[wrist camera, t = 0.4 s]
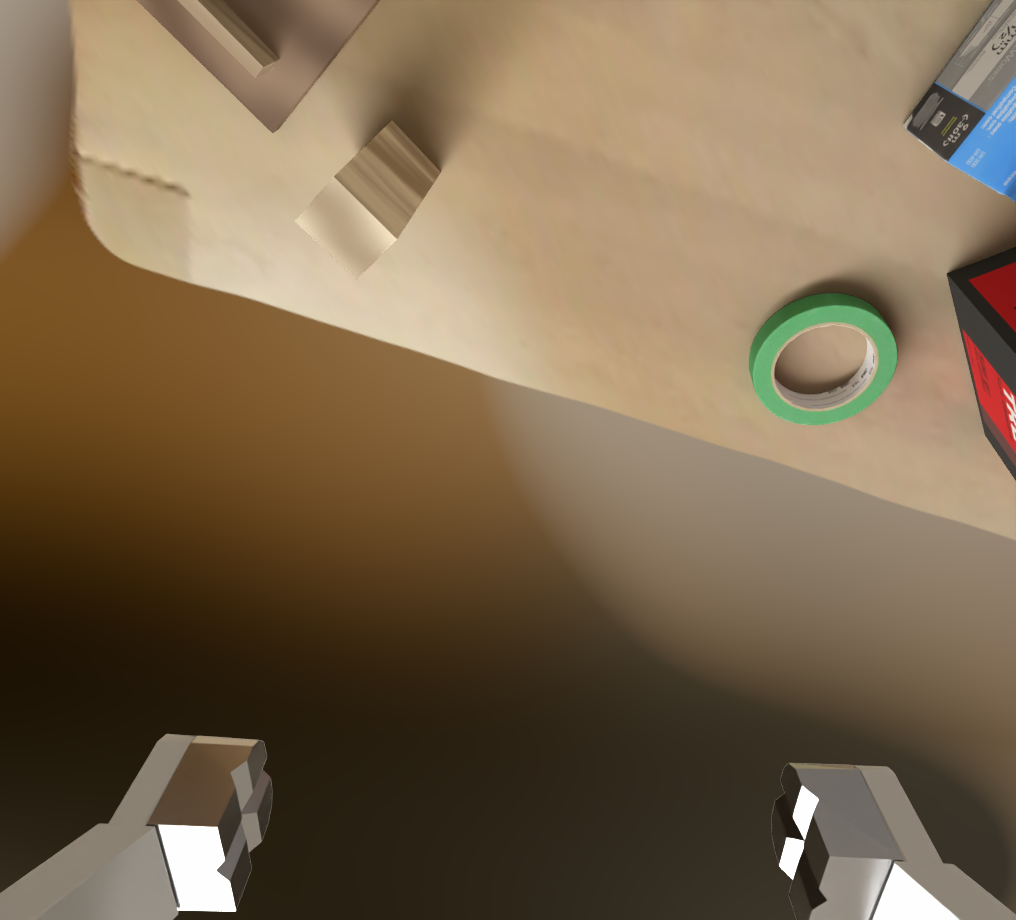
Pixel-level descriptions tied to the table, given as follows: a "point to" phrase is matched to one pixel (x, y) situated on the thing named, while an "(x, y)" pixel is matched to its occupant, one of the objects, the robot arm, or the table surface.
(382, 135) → the tan tall rectangular block
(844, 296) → the tape roll
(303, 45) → the dock
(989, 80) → the label tape box
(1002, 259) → the cleaning product box
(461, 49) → the table surface
